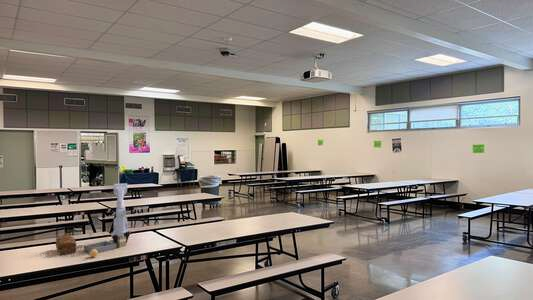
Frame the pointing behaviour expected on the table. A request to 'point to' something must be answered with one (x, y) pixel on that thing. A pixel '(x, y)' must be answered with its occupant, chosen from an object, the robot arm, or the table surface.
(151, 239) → the table surface
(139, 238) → the table surface
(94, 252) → the egg
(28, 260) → the table surface
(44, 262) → the table surface
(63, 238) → the bread
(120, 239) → the carton
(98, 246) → the bin
